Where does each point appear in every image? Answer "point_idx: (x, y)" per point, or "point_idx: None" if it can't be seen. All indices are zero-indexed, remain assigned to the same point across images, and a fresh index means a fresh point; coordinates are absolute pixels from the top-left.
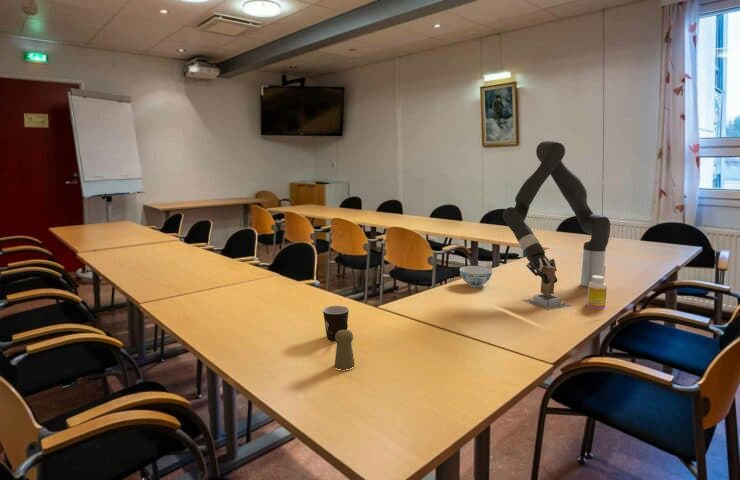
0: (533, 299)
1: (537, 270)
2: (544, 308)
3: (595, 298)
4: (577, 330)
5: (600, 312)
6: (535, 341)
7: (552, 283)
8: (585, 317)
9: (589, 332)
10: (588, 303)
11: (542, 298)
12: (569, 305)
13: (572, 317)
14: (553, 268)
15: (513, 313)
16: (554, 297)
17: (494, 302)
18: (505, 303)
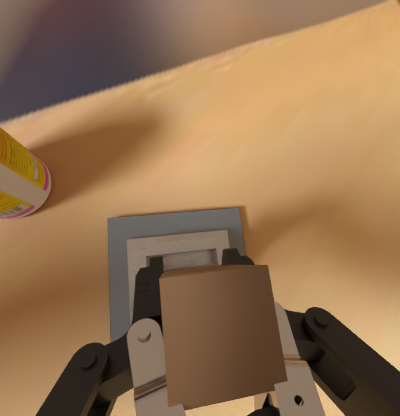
0: None
1: (348, 333)
2: (238, 228)
3: (19, 144)
4: (249, 70)
5: (51, 142)
6: (380, 68)
7: (181, 269)
8: (147, 128)
9: (229, 50)
10: (42, 187)
11: None
12: (118, 223)
13: (188, 144)
14: (193, 274)
15: (348, 246)
16: None
17: None
18: None
